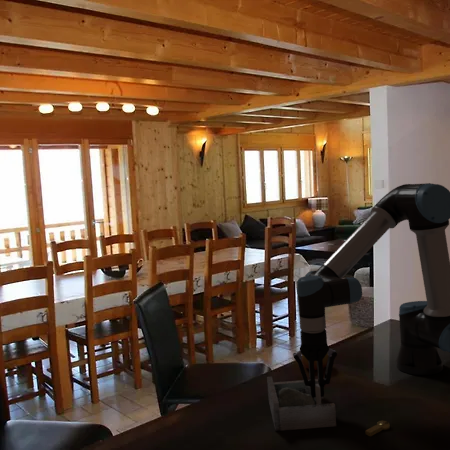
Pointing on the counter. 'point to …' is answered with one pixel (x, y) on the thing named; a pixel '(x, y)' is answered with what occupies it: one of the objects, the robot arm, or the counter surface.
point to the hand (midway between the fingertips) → (318, 406)
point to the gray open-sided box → (298, 409)
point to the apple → (315, 362)
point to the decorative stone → (294, 398)
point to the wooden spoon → (378, 428)
